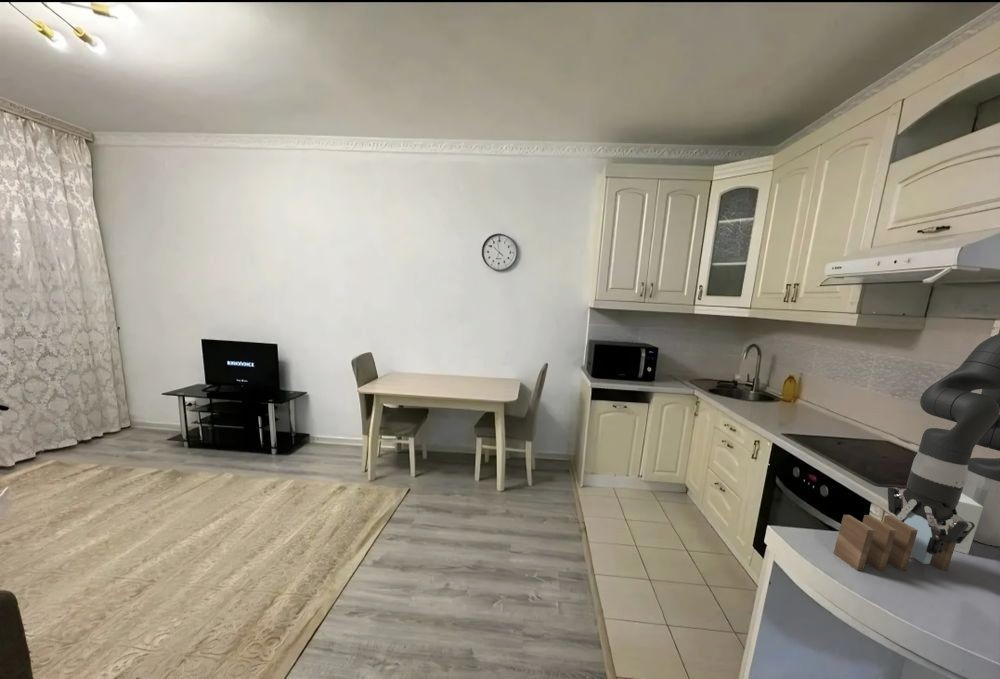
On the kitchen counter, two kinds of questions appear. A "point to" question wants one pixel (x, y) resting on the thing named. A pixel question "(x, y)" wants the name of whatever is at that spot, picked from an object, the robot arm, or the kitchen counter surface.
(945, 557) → the domino
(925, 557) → the domino
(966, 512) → the small box
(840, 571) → the kitchen counter surface
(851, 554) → the domino
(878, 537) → the domino
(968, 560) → the kitchen counter surface
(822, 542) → the kitchen counter surface
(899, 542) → the domino
